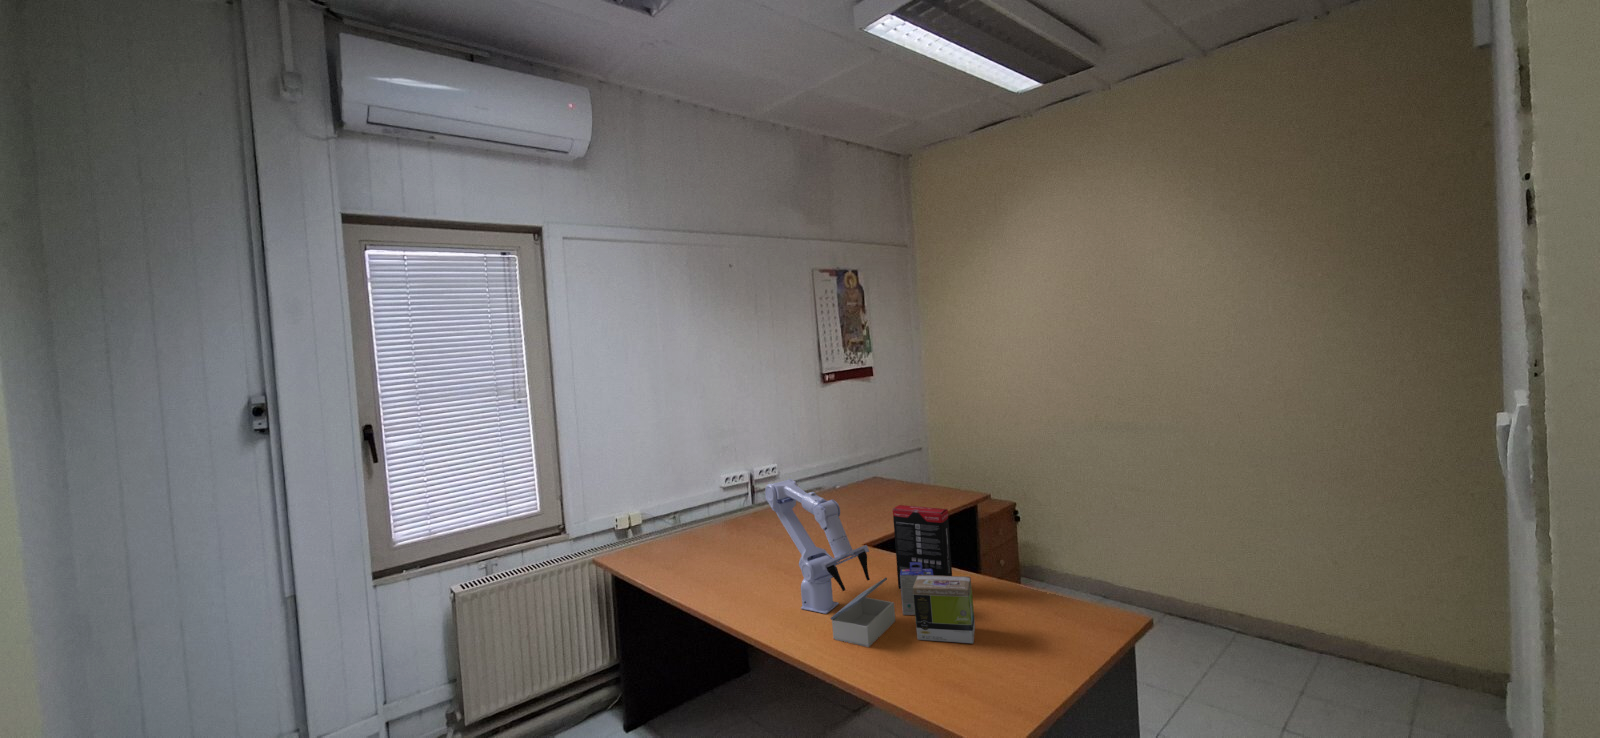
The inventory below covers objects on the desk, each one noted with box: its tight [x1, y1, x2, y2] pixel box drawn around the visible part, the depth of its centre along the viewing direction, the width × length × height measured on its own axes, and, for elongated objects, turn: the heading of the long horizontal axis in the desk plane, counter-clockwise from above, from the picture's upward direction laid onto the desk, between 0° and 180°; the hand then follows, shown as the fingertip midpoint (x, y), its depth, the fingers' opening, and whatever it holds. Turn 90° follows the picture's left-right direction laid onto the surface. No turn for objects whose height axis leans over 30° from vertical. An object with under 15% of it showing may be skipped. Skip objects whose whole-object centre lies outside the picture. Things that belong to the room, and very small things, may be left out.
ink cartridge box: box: [900, 562, 933, 616], centre depth 180 cm, size 10×6×14 cm, turn 78°
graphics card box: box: [892, 504, 953, 590], centre depth 195 cm, size 17×7×27 cm, turn 58°
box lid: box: [829, 577, 888, 621], centre depth 172 cm, size 11×17×1 cm
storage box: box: [831, 596, 896, 648], centre depth 171 cm, size 11×17×6 cm, turn 146°
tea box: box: [913, 575, 976, 644], centre depth 165 cm, size 15×10×15 cm, turn 71°
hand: (856, 585), depth 174 cm, fingers open, 7 cm apart
